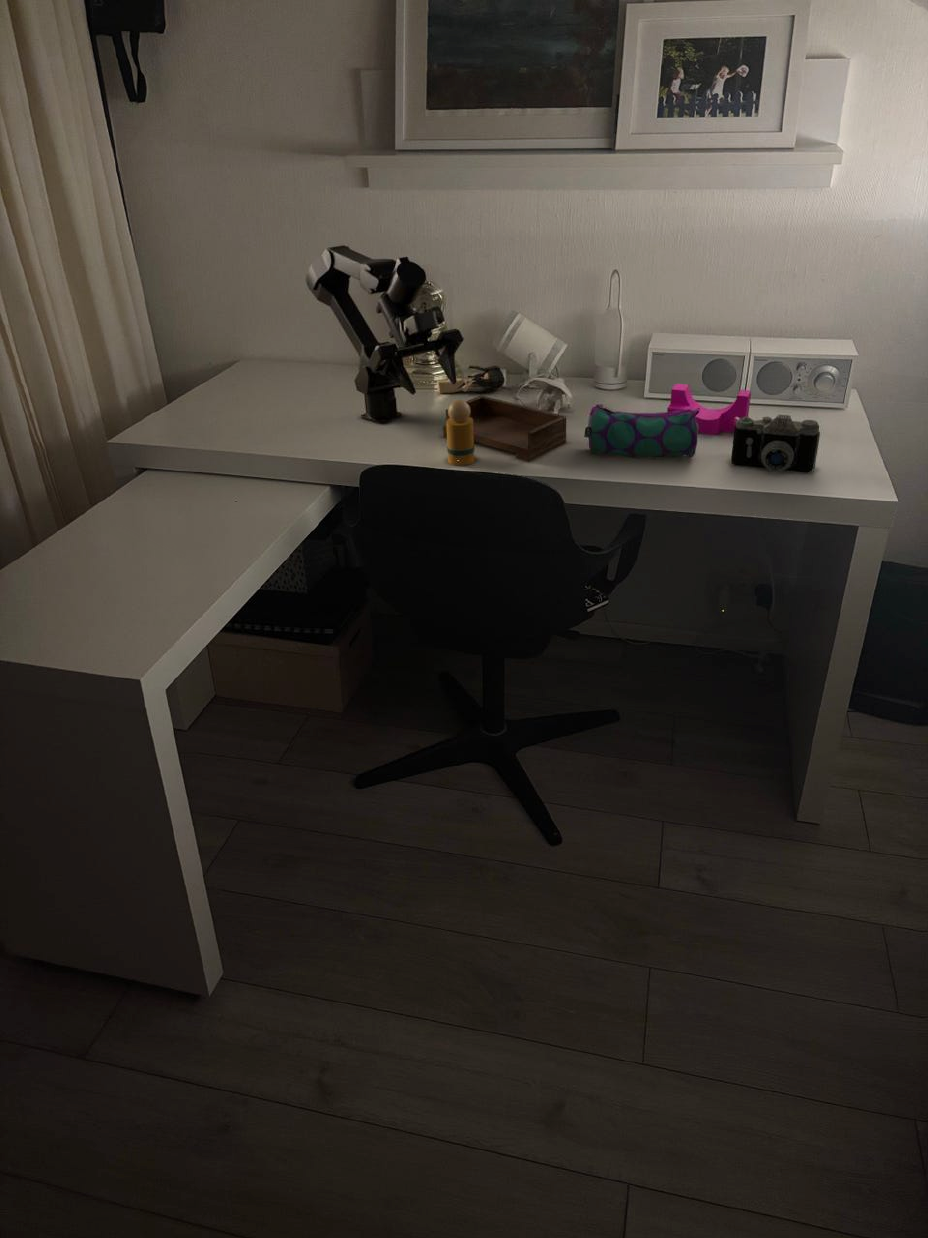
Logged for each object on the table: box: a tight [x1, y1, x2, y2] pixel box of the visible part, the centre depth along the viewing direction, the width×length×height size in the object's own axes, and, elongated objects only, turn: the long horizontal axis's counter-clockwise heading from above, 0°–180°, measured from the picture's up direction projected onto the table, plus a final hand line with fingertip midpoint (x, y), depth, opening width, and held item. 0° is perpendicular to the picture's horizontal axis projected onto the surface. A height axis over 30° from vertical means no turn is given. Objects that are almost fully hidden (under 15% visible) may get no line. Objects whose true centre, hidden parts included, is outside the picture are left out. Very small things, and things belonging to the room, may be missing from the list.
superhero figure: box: [524, 377, 573, 414], centre depth 206 cm, size 10×9×20 cm
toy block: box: [666, 383, 752, 436], centre depth 194 cm, size 15×6×8 cm, turn 66°
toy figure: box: [436, 364, 506, 395], centre depth 220 cm, size 7×6×15 cm
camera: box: [730, 414, 821, 474], centre depth 175 cm, size 15×7×10 cm, turn 69°
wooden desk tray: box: [442, 394, 568, 463], centre depth 193 cm, size 22×12×6 cm, turn 48°
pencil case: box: [583, 403, 700, 459], centre depth 183 cm, size 21×9×10 cm, turn 78°
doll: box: [445, 399, 475, 466], centre depth 183 cm, size 5×5×12 cm
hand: (434, 388), depth 186 cm, fingers open, 9 cm apart
